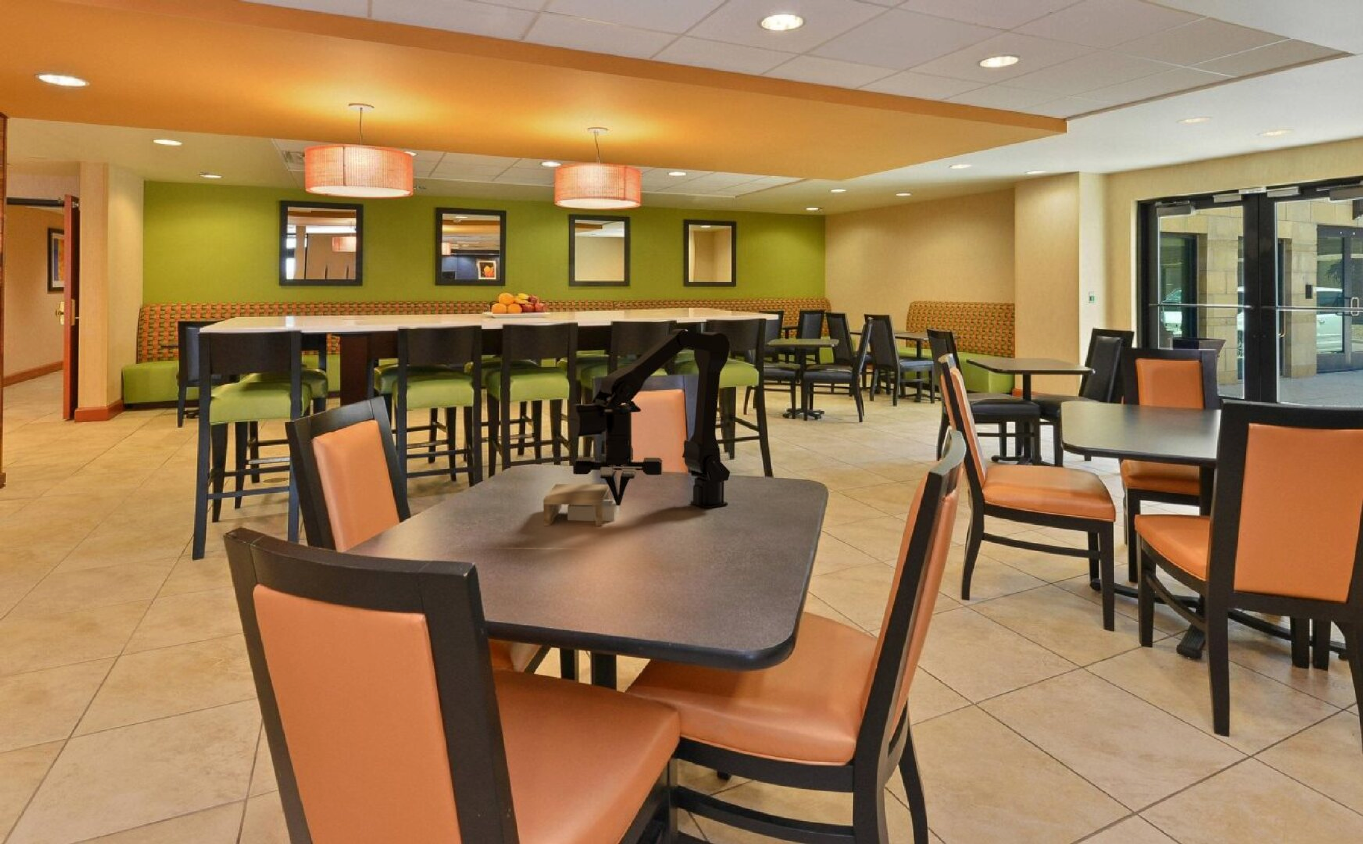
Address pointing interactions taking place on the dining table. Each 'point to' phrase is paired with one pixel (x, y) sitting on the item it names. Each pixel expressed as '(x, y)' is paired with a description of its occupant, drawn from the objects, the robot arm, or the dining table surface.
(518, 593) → the dining table surface
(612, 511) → the beige tray
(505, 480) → the dining table surface
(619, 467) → the robot arm
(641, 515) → the dining table surface
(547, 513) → the oak shelf
